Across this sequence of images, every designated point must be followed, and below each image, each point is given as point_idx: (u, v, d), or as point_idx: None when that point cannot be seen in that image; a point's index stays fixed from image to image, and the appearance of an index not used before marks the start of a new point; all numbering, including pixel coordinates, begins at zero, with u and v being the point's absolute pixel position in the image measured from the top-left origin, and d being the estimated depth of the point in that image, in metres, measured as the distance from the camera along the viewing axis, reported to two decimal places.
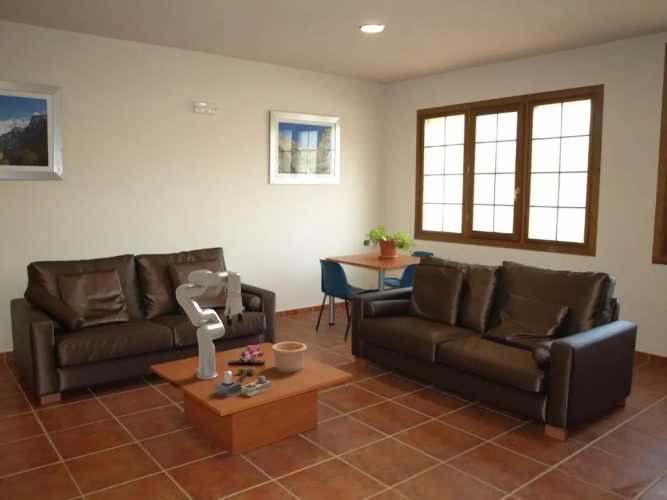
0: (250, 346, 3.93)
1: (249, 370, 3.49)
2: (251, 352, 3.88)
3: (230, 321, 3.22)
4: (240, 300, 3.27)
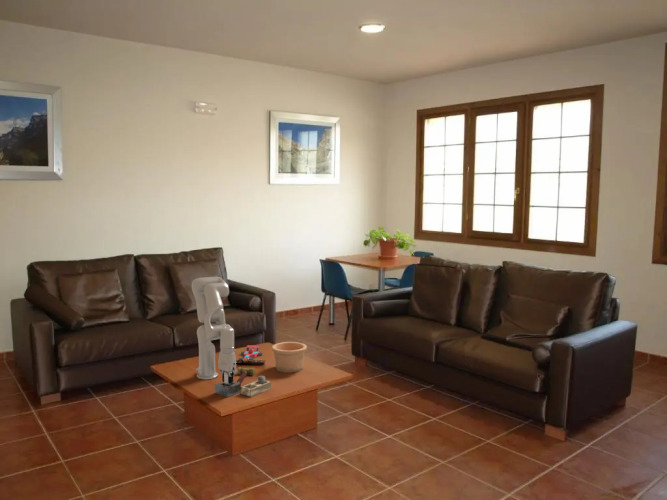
0: (249, 346, 3.93)
1: (249, 370, 3.48)
2: (250, 352, 3.88)
3: (232, 377, 3.18)
4: None
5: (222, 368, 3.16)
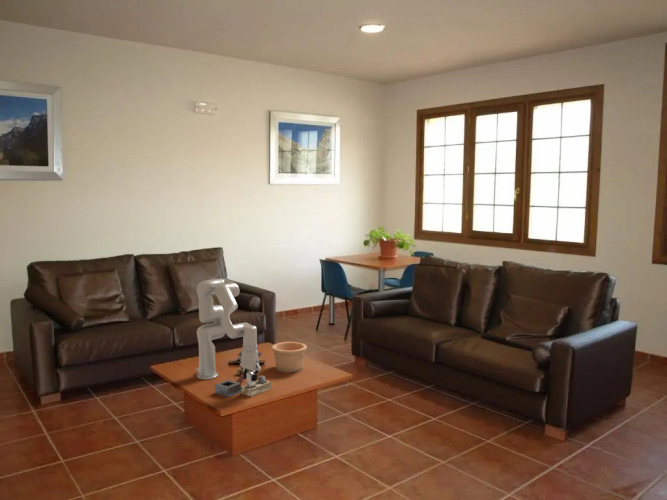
0: None
1: (248, 371, 3.48)
2: None
3: (256, 375, 3.16)
4: None
5: (245, 366, 3.15)
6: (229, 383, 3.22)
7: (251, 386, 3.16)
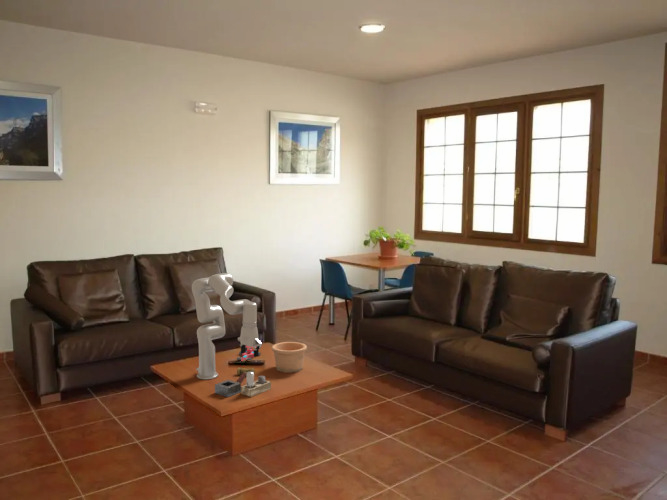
0: (248, 346, 3.93)
1: (248, 371, 3.47)
2: (249, 352, 3.88)
3: None
4: None
5: (244, 343, 3.13)
6: (229, 383, 3.22)
7: (251, 386, 3.16)
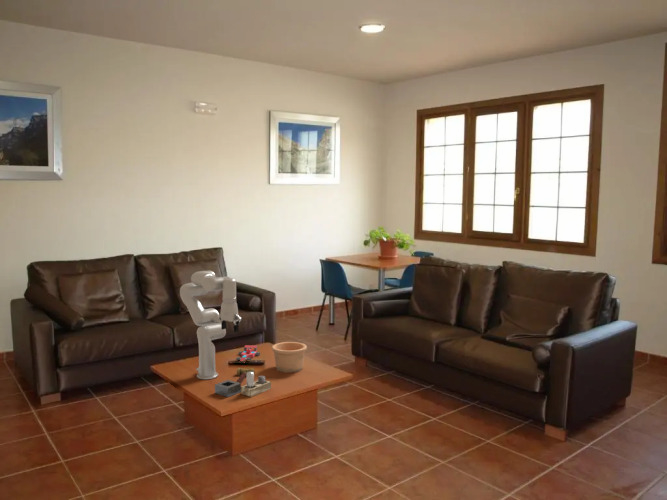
0: (247, 346, 3.93)
1: (248, 371, 3.47)
2: (248, 352, 3.88)
3: None
4: None
5: (224, 318, 3.22)
6: (229, 383, 3.22)
7: (251, 386, 3.16)
